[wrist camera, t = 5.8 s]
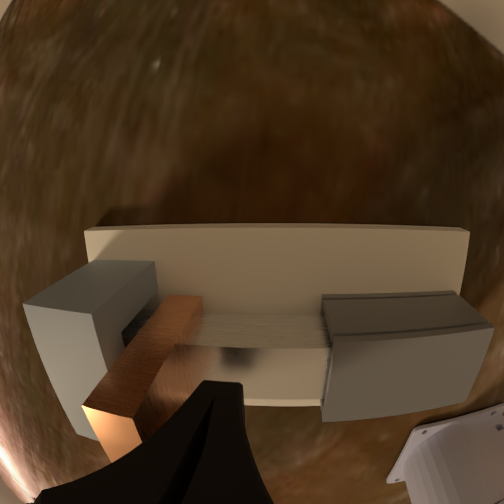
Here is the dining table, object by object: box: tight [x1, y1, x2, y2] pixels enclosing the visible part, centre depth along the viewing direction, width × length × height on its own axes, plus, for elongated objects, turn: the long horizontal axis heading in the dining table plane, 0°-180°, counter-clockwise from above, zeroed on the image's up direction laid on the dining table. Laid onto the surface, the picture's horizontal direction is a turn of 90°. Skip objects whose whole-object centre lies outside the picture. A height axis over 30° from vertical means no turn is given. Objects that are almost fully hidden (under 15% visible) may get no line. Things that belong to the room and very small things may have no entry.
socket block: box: [23, 260, 158, 441], centre depth 12 cm, size 4×7×6 cm, turn 1°
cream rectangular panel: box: [84, 223, 495, 422], centre depth 13 cm, size 19×10×5 cm, turn 91°
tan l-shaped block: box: [82, 295, 333, 463], centre depth 10 cm, size 12×4×8 cm, turn 91°
